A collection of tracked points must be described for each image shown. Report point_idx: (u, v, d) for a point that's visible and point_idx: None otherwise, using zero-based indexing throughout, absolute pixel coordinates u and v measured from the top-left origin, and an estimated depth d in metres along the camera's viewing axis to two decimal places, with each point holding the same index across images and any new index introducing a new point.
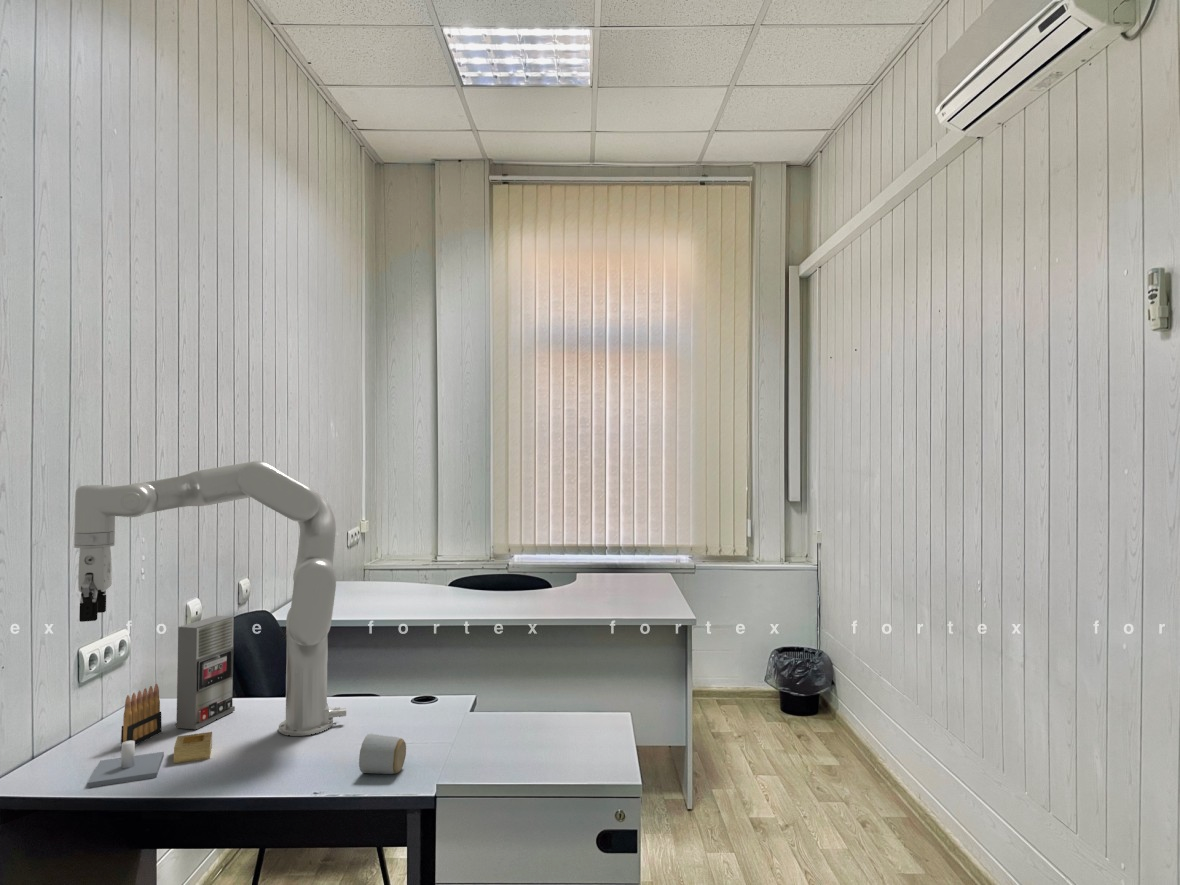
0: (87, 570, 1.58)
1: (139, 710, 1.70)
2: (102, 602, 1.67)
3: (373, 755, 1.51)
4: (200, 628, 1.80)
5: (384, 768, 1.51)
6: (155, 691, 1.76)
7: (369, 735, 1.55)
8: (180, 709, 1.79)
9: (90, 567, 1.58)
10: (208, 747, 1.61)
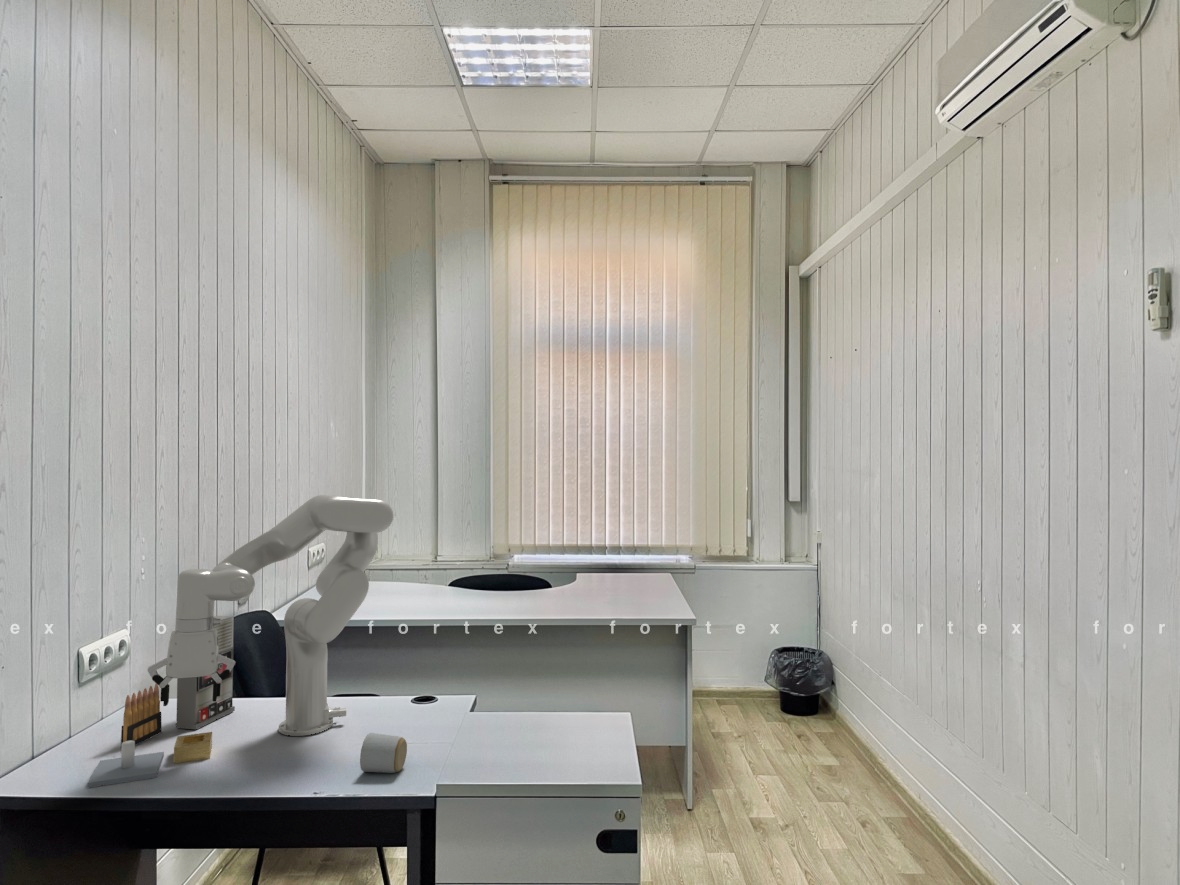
0: (217, 650, 1.65)
1: (139, 710, 1.70)
2: (168, 692, 1.62)
3: (374, 754, 1.51)
4: None
5: (385, 766, 1.51)
6: (155, 691, 1.76)
7: (370, 734, 1.55)
8: (180, 709, 1.79)
9: None
10: (208, 747, 1.61)
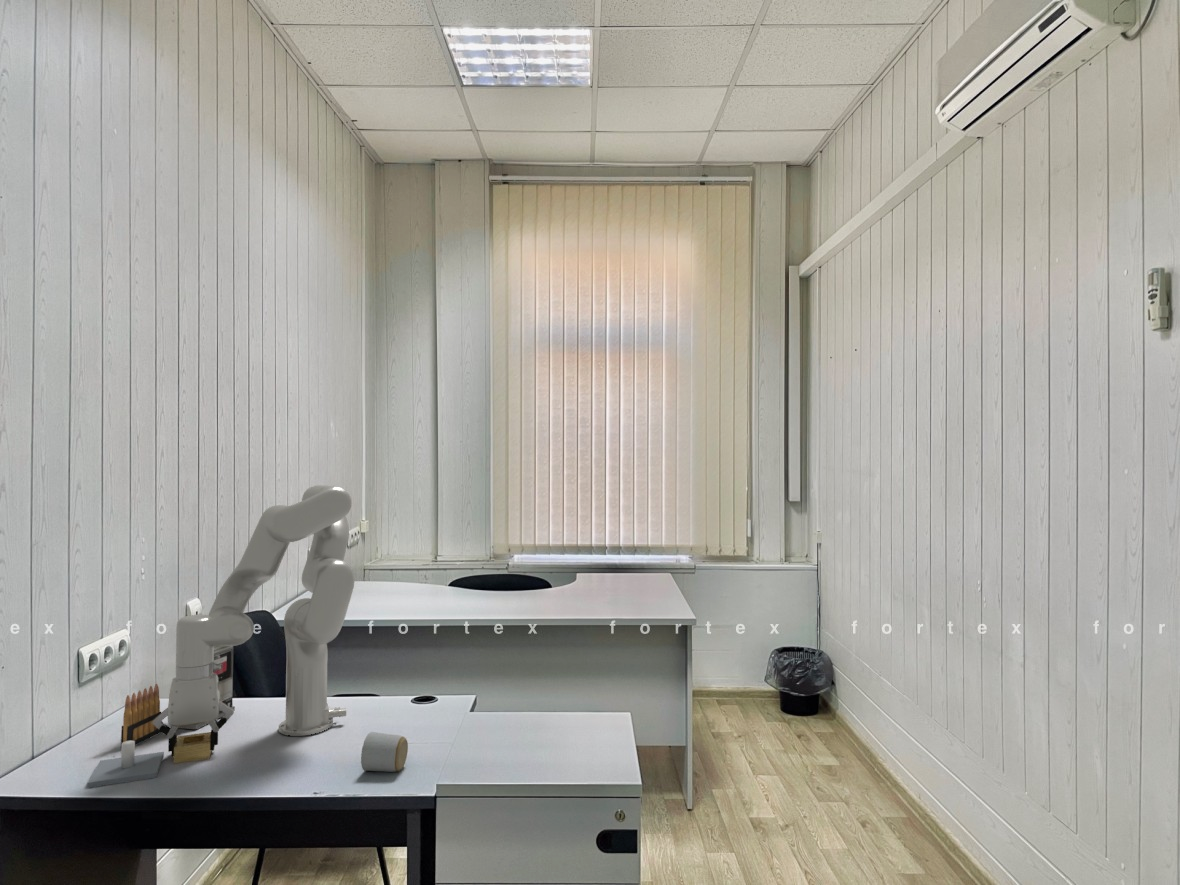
0: (219, 696, 1.65)
1: (139, 710, 1.70)
2: None
3: (375, 753, 1.52)
4: None
5: (386, 765, 1.52)
6: (155, 691, 1.76)
7: (371, 733, 1.56)
8: None
9: (219, 693, 1.65)
10: (208, 747, 1.61)
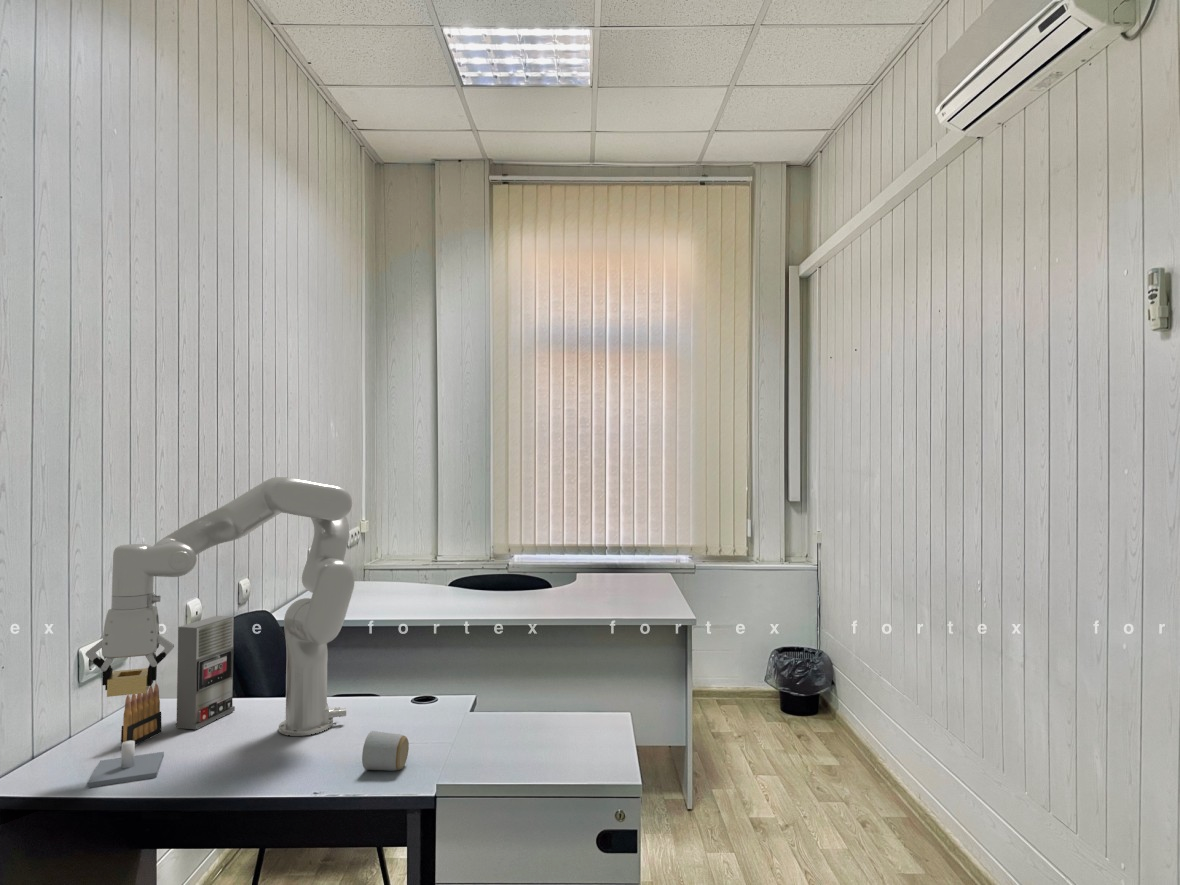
0: (158, 629, 1.57)
1: (138, 710, 1.70)
2: None
3: (376, 752, 1.53)
4: (200, 628, 1.80)
5: (387, 764, 1.52)
6: (155, 691, 1.76)
7: (372, 732, 1.56)
8: (180, 709, 1.79)
9: (158, 626, 1.58)
10: (144, 681, 1.53)
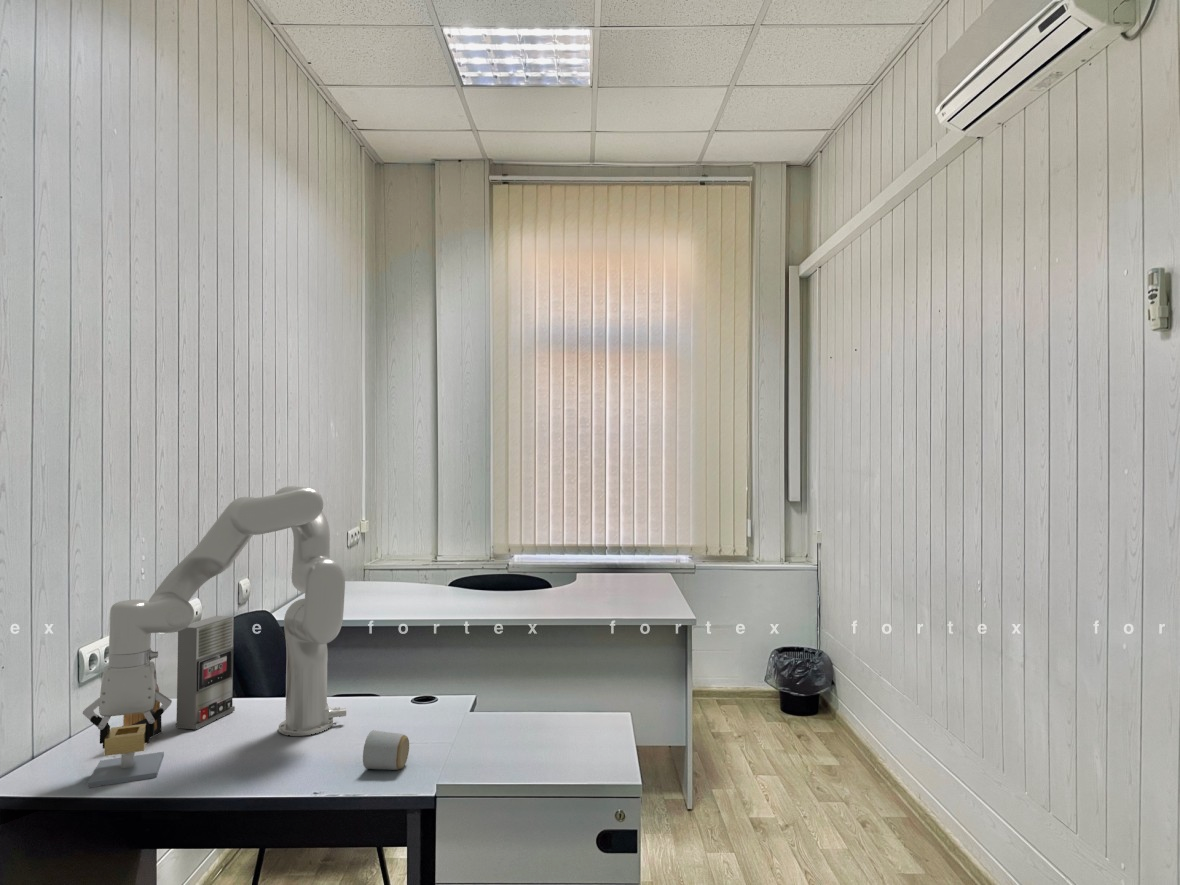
0: (155, 685, 1.56)
1: None
2: None
3: (377, 751, 1.53)
4: (200, 628, 1.80)
5: (387, 764, 1.53)
6: None
7: (373, 731, 1.57)
8: (180, 709, 1.79)
9: (155, 682, 1.57)
10: (142, 739, 1.53)
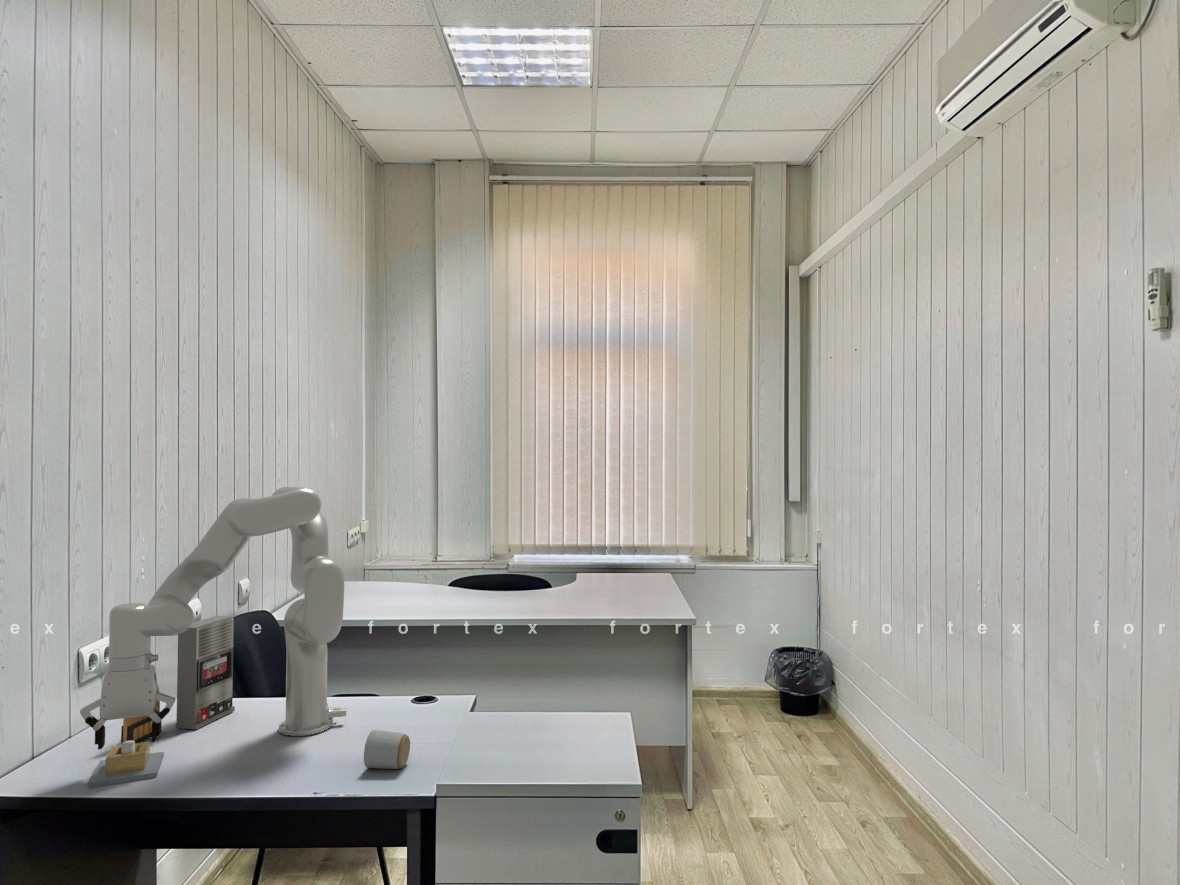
0: (155, 688, 1.56)
1: None
2: (104, 734, 1.54)
3: (377, 750, 1.53)
4: (200, 628, 1.80)
5: (388, 763, 1.53)
6: None
7: (374, 731, 1.57)
8: (180, 709, 1.79)
9: (156, 685, 1.57)
10: (143, 758, 1.53)
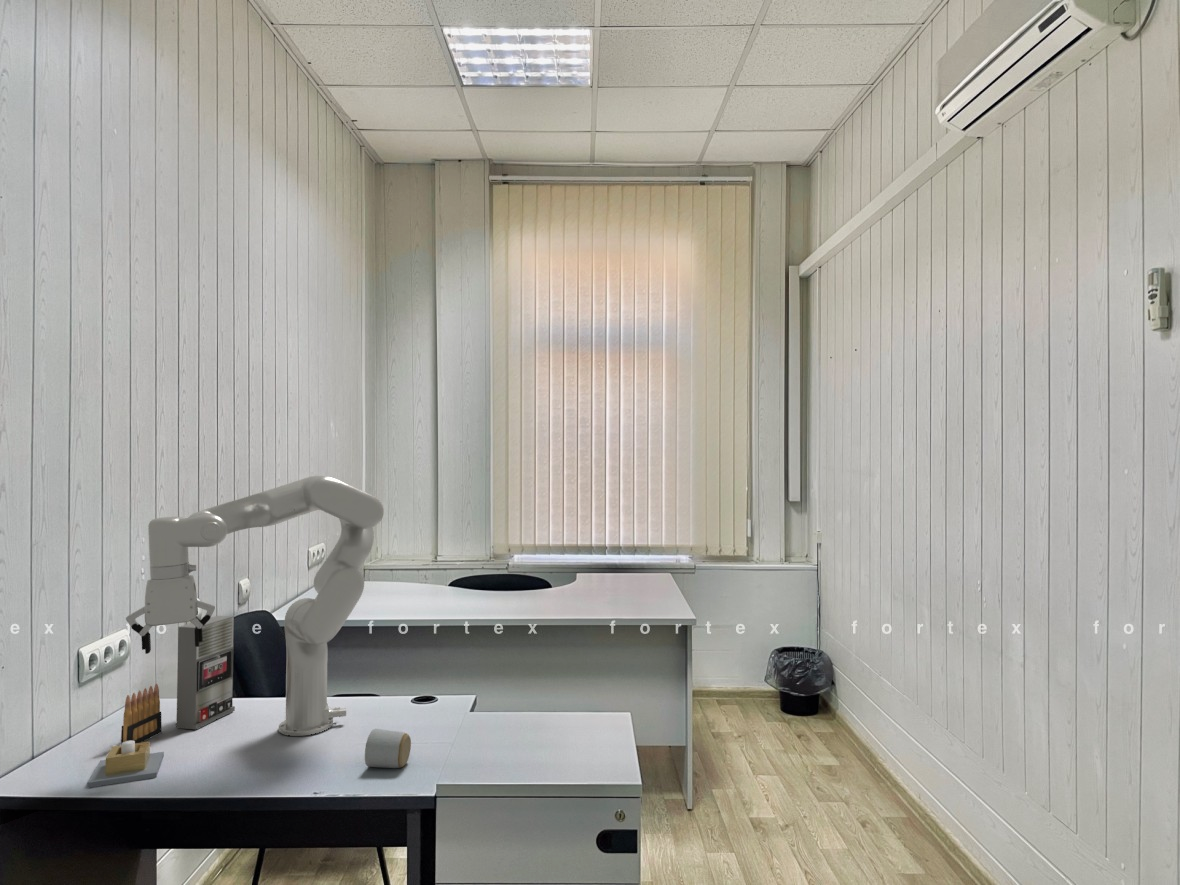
0: (196, 597, 1.64)
1: (139, 710, 1.70)
2: (150, 640, 1.61)
3: (378, 749, 1.54)
4: None
5: (389, 762, 1.54)
6: (155, 691, 1.76)
7: (374, 730, 1.58)
8: (180, 709, 1.79)
9: (196, 594, 1.65)
10: (143, 758, 1.53)
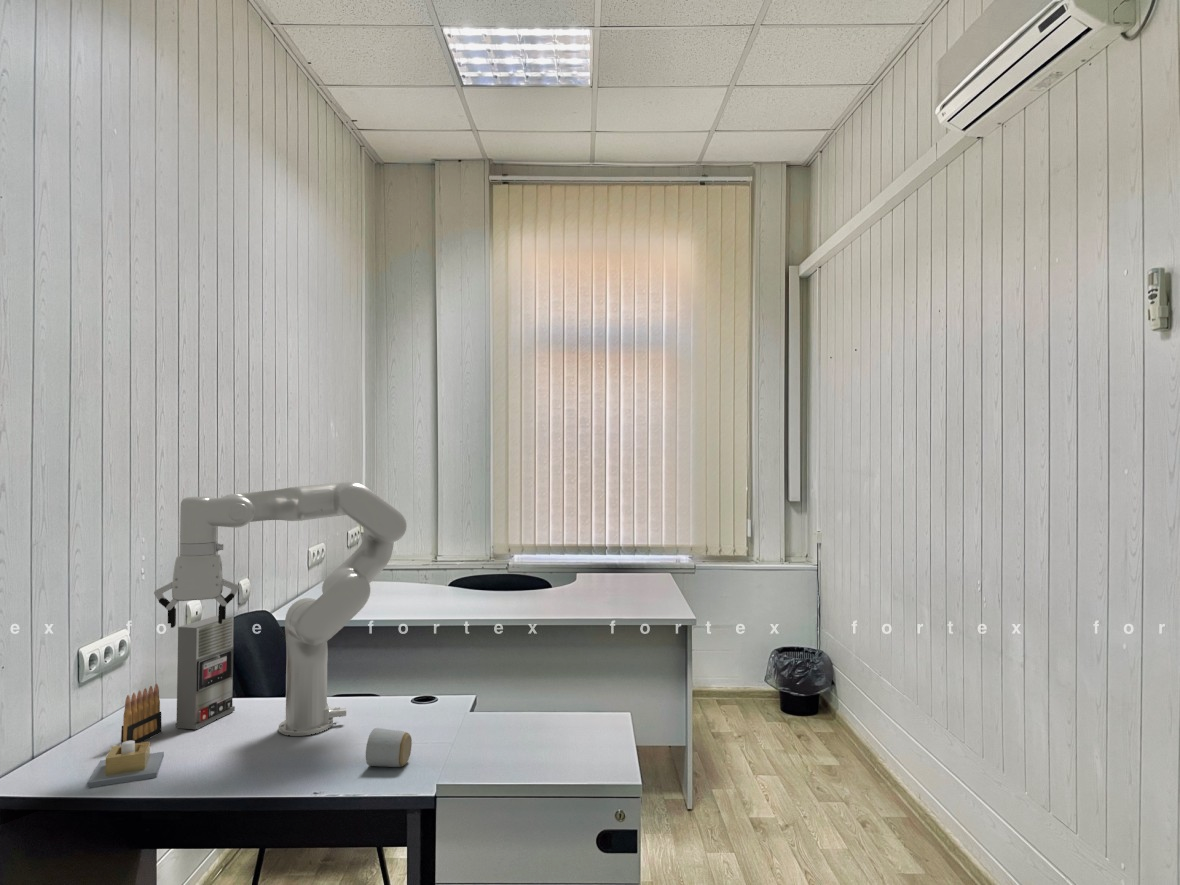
0: (221, 575, 1.69)
1: (138, 710, 1.70)
2: (175, 615, 1.67)
3: (379, 748, 1.54)
4: (200, 628, 1.80)
5: (390, 761, 1.54)
6: (155, 691, 1.76)
7: (375, 729, 1.58)
8: (180, 709, 1.79)
9: None
10: (143, 758, 1.53)
